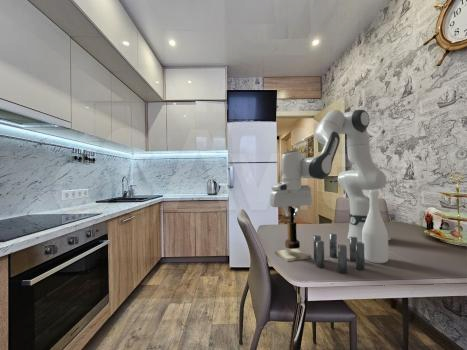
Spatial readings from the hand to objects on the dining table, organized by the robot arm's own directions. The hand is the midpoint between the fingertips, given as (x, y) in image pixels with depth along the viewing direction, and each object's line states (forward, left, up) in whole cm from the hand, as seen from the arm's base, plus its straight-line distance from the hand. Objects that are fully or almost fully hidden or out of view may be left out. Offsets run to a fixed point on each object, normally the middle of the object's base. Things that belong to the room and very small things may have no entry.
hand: (291, 215), depth 108 cm
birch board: (0, 0, -18) cm, 18 cm away
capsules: (-12, +15, -18) cm, 26 cm away
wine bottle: (-30, +17, -18) cm, 39 cm away
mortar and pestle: (0, 0, -14) cm, 14 cm away
